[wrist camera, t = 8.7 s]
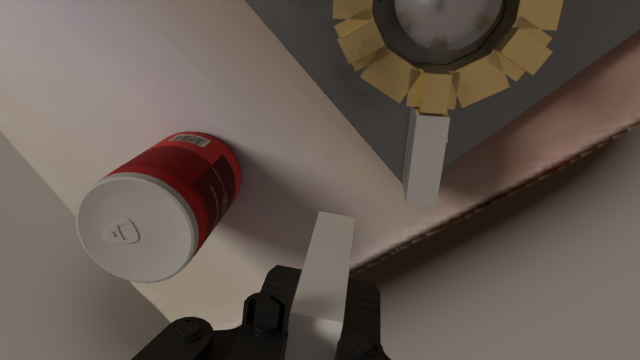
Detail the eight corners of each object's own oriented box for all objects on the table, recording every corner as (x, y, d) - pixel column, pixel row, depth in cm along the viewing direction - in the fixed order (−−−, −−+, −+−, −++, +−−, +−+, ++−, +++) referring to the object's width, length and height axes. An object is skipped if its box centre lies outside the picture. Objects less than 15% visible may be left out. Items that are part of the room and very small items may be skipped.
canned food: (136, 157, 39) (49, 212, 29) (207, 110, 36) (141, 151, 26) (190, 227, 41) (127, 302, 30) (261, 187, 38) (219, 253, 28)
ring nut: (344, -125, 28) (337, -151, 23) (571, -120, 27) (612, -146, 22) (327, 170, 35) (320, 196, 30) (505, 186, 34) (526, 215, 29)
